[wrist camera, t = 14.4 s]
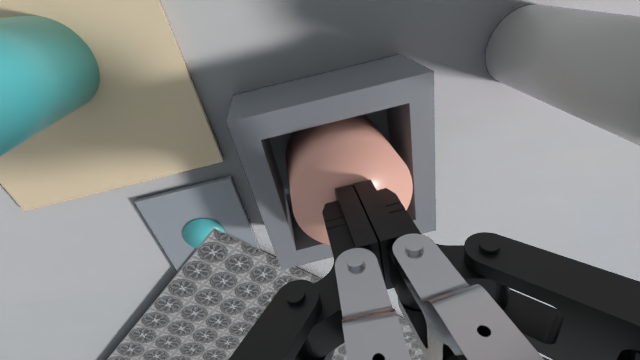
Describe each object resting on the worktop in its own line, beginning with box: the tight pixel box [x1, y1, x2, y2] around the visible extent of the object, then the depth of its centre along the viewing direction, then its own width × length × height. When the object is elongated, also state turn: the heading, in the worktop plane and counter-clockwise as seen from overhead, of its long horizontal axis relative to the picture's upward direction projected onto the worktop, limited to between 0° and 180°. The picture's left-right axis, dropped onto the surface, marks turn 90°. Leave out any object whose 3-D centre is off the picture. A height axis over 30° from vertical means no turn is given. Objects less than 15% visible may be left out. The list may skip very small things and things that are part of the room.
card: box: [135, 176, 260, 272], centre depth 19 cm, size 6×5×1 cm
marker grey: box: [485, 4, 640, 146], centre depth 12 cm, size 4×4×9 cm
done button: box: [286, 115, 413, 245], centre depth 15 cm, size 5×5×4 cm
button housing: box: [226, 54, 436, 270], centre depth 16 cm, size 8×8×4 cm
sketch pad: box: [0, 0, 224, 212], centre depth 13 cm, size 12×10×1 cm
